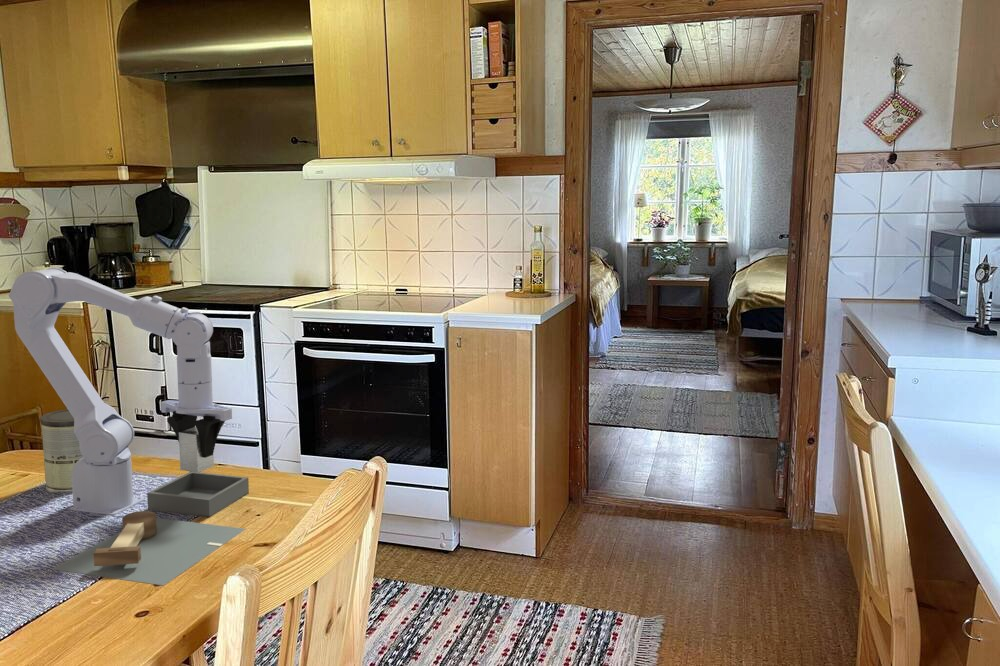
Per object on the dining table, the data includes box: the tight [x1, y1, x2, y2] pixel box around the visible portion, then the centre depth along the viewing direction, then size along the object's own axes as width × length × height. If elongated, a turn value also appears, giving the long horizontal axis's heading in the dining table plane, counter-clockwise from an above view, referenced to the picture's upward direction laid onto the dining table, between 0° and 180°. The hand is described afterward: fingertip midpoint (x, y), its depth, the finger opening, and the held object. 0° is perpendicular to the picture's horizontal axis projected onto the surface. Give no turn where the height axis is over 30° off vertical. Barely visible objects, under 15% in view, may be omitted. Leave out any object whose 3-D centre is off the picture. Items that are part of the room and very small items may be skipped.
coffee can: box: [39, 408, 83, 494], centre depth 148 cm, size 10×10×14 cm
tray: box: [146, 471, 250, 518], centre depth 140 cm, size 12×12×4 cm
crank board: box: [51, 517, 246, 587], centre depth 120 cm, size 19×21×1 cm
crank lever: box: [93, 510, 157, 566], centre depth 120 cm, size 16×6×3 cm, turn 11°
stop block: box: [178, 426, 215, 473], centre depth 138 cm, size 4×4×7 cm
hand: (197, 454), depth 139 cm, fingers closed on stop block, 4 cm apart
